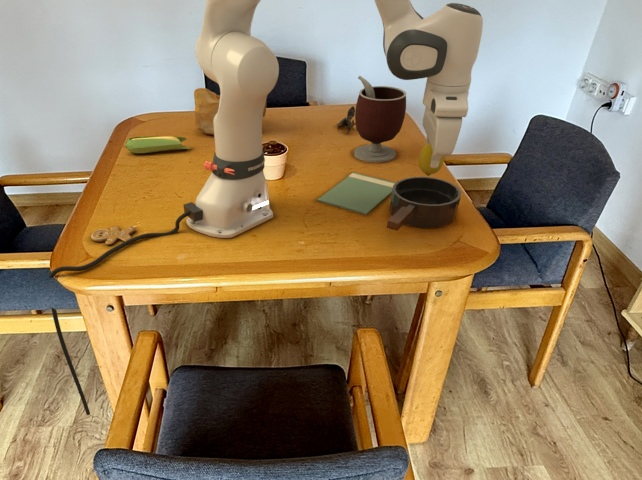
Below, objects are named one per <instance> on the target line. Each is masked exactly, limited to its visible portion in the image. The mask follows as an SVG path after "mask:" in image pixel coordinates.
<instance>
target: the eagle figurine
mask: <svg viewBox="0 0 642 480" xmlns="http://www.w3.org/2000/svg"><path fill="white" fill-rule="evenodd" d="M355 111H356V107H355V106H351V107H350V108H349V109H348V111H347V114H346V116H344V117H343V118H341V120H339V122H338V123H336V126H337V127H338V126H344V127H345V129H347V132H346V134H347V135H349V133H350V132H351V131H352V130H353V131H354V130H355V128H354V127H355V126H356V124H355V119H354V118H355Z"/></svg>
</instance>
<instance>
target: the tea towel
mask: <svg viewBox="0 0 642 480" xmlns="http://www.w3.org/2000/svg"><path fill="white" fill-rule="evenodd" d="M395 183H396V182H395V181H391V180H387V179H383V178H378V177H374V176H370V175H367V174H362V173H359V172H352V173H350V174H349V175H348V176H347V177H346V178H344V179H343V180H341V181H340V182H339V183H337V184H336V185H335V186H333V187H332V188H331V189H329V190H328V191H327V192H325V193H323V195H321V196H320V197H319V198H318V199H317V200H316V201H317V202H319V203H322V204H325V205H330V206H333V207H337V208H340V209H343V210H347V211H351V212H354V213H358V214H361V215H365V216H367V215H369V214H370V213H371V212H372V211H374V209H375V208H376V207H378V206H379V205H380V204H381V203H382V202H383V201H384V200H386V199H387V198H388V197H389V196H391V195H392V189H393V185H394V184H395Z"/></svg>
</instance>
